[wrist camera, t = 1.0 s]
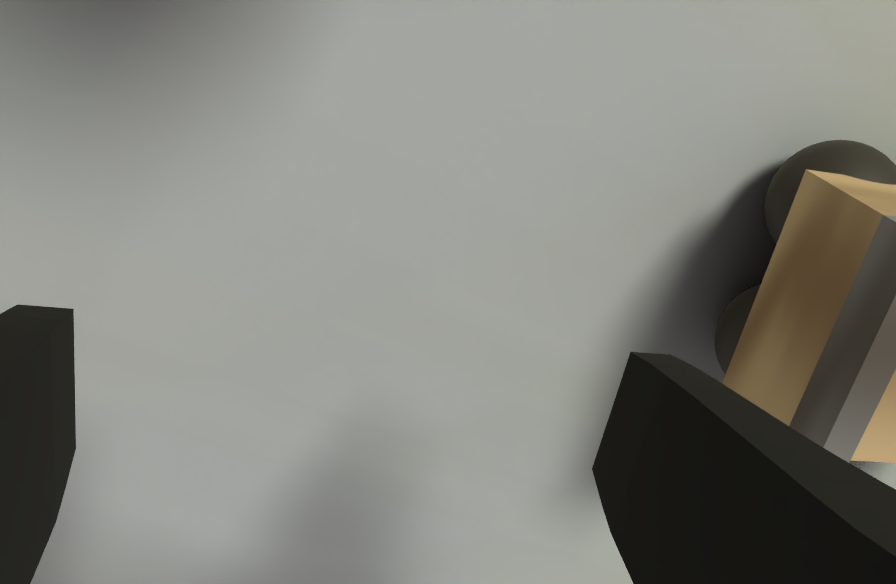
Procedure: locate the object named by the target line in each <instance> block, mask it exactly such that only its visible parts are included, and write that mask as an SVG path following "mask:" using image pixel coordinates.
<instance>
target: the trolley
mask: <svg viewBox="0 0 896 584" xmlns="http://www.w3.org/2000/svg"><path fill="white" fill-rule="evenodd" d="M764 209H765V219H766V224H767V227H768V230H769V232H770V234H771V236H772V238H773V240H774V241H775V243H776V247H775V250H774V252H773V255H772V257H771V260H770V262H769V265H768V267H767V270H766V273H765V275H764V278H763V280H762V283H761V284H760V285H756V286H753V287H751V288H749V289H747V290H745V291H743V292H742V293H740V294H739V295H738V296H736V297H735V298H734V299H733V300H732V301H731V302H730V303H729V304H728V305H727V307H726V308H725V309H724V311H723V312H722V314H721V316H720V318H719V321H718V324H717V327H716V332H715V350H716V355H717V358H718V361H719V363H720V366H721V368H722V370H723V371H724V373H725V374H726V375H725V377H724V380H723V383H722V384H724V385H725V386H727V387H728V388H730V389H732V390H733V391H735V392H736V393H738V394H739V395H741V396H742V397H744V398H746V399H747V400H749V401H750V402H752V403H753V404H755V405H757V406H758V407H760V408H761V409H763V410H764V411H766V412H767V413H769V414H771V415H772V416H774V417H775V418H777V419H778V420H780V421H781V422H783V423H785V424H786V425H788V426H789V427H791V428H792V429H794V430H796V431H797V432H799V433H800V434H802V435H804V436H805V437H807V438H808V439H810V440H812V441H813V442H815V443H817V444H818V445H820V446H821V447H823V448H825V449H826V450H828V451H830V452H831V453H833V454H834V455H836V456H838V457H840V458H841V459H843V460H845V461H846V462H848V463H849V462H850V461H871V462H892V463H896V165H895V164H894V163H893V162H892V161H891V160H890V159H889V158H888V157H887V156H886V155H884V154H883V153H881V152H880V151H878V150H877V149H875V148H873V147H871V146H868V145H866V144H863V143H859V142H855V141H847V140H834V141H825V142H821V143H817V144H814V145H811V146H809V147H806V148H804V149H802V150H801V151H799V152H797V153H796V154H794V155H793V156H792V157H790V158H789V159H788V160H787V161H786V162H785V163H784V164H783V165H782V166H781V167H780V168H779V169H778V171H777V172H776V173H775V175H774V177H773V178H772V180H771V182H770V185H769V187H768V190H767V194H766V198H765V208H764Z"/></svg>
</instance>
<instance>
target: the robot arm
mask: <svg viewBox="0 0 896 584" xmlns="http://www.w3.org/2000/svg"><path fill="white" fill-rule="evenodd" d="M75 449H76V434H75V376H74V318H73V309H67V308H54V307H42V306H29V305H16V306H14V307H12V308H10V309H8V310H7V311H5V312H3V313H2V314H0V584H30V583H31V580H32V578H33V576H34V573H35V571H36V568H37V566H38V564H39V561H40V559H41V556H42V554H43V552H44V549H45V547H46V544H47V542H48V540H49V537H50V535H51V532H52V530H53V527H54V525H55V522H56V520H57V516H58V512H59V509H60V505H61V502H62V498H63V495H64V491H65V487H66V484H67V480H68V476H69V472H70V468H71V464H72V461H73V457H74V453H75ZM592 470H593V474H594V477H595V481H596V485H597V488H598V492H599V496H600V499H601V503H602V506H603V509H604V513H605V516H606V519H607V522H608V525H609V528H610V532H611V534H612V536H613V539H614V541H615V543H616V546H617V548H618V550H619V552H620V555H621V557H622V559H623V561H624V563H625V566H626V568H627V570H628V572H629V574H630V577H631V579H632V581H633V583H634V584H896V490H895V489H894V488H892V487H890V486H888V485H886V484H884V483H883V482H881V481H879V480H877V479H876V478H874V477H872V476H871V475H869V474H867V473H865V472H864V471H862V470H860V469H859V468H857V467H855V466H853V465H852V464H850V463H848V462H846V461H845V460H843V459H841V458H840V457H838V456H836V455H834V454H833V453H831V452H830V451H828V450H826V449H825V448H823V447H821V446H820V445H818V444H817V443H815V442H813V441H812V440H810V439H808V438H807V437H805V436H804V435H802V434H800V433H799V432H797V431H796V430H794V429H792V428H791V427H789V426H788V425H786V424H785V423H783V422H781V421H780V420H778V419H777V418H775V417H774V416H772V415H771V414H769V413H767V412H766V411H764V410H763V409H761V408H760V407H758V406H757V405H755V404H753V403H752V402H750V401H749V400H747V399H746V398H744V397H742V396H741V395H739V394H738V393H736V392H735V391H733V390H732V389H730V388H728V387H727V386H725V385H724V384H722V383H720V382H719V381H717V380H715V379H714V378H712V377H711V376H709V375H707V374H706V373H704V372H702V371H701V370H699V369H697V368H695V367H694V366H692V365H690V364H688V363H686V362H684V361H682V360H680V359H678V358H676V357H674V356H672V355H664V354H651V353H638V352H631V353H630V356H629V359H628V362H627V365H626V368H625V371H624V374H623V377H622V380H621V383H620V386H619V389H618V392H617V395H616V398H615V401H614V404H613V407H612V410H611V413H610V416H609V419H608V422H607V425H606V428H605V431H604V434H603V437H602V441H601V444H600V447H599V450H598V453H597V456H596V459H595V462H594V465H593V468H592Z"/></svg>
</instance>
